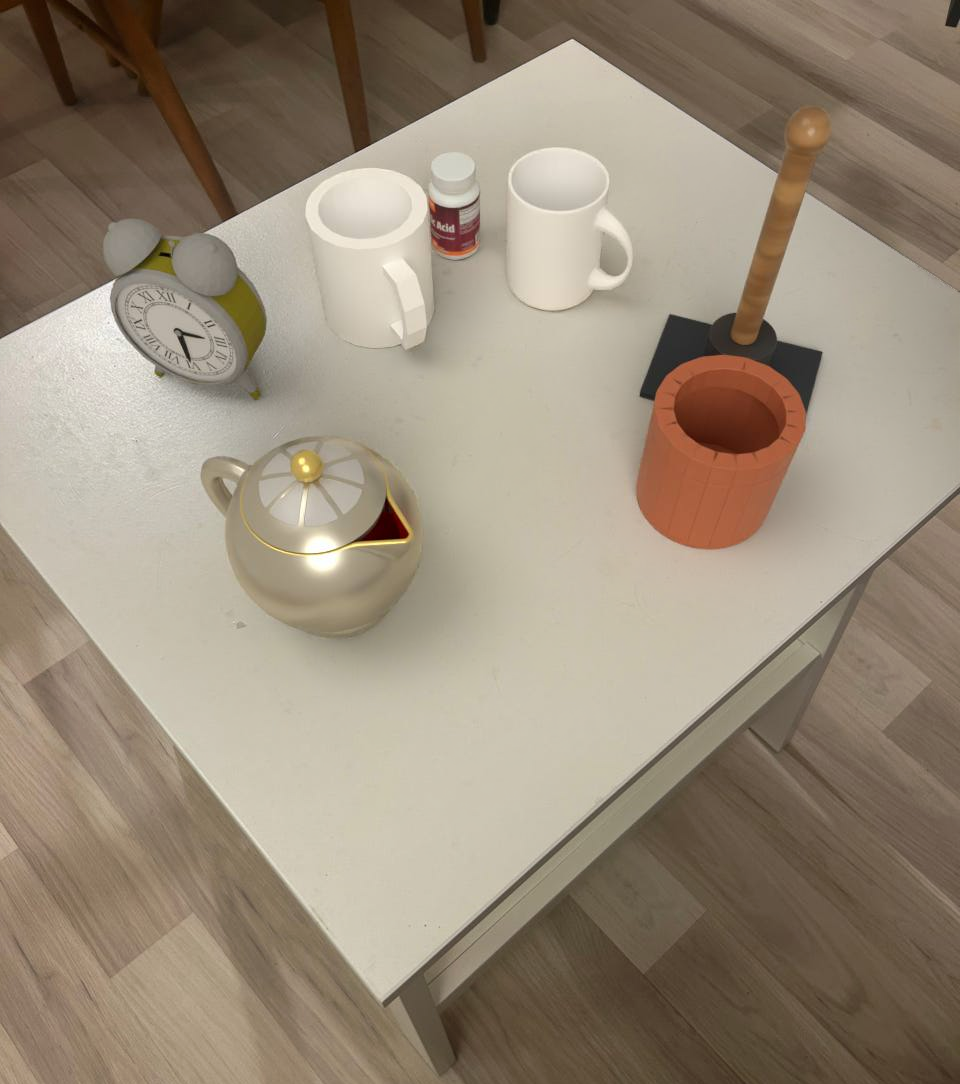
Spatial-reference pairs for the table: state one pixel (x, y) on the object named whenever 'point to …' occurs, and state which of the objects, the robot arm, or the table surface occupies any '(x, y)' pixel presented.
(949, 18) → the robot arm
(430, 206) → the pill bottle
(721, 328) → the brush
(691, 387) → the jar
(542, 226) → the mug
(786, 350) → the mat
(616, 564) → the table surface
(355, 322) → the mug
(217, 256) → the alarm clock
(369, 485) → the teapot
